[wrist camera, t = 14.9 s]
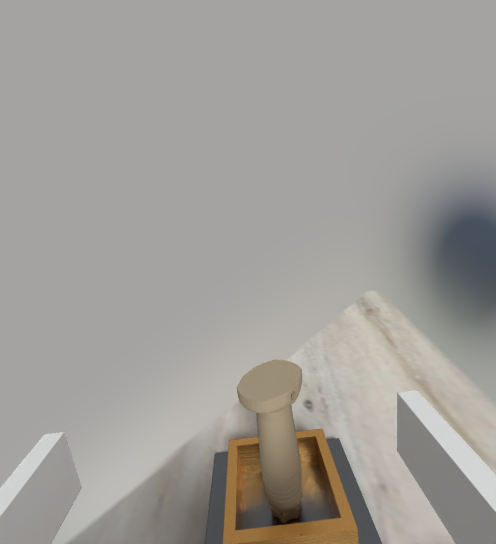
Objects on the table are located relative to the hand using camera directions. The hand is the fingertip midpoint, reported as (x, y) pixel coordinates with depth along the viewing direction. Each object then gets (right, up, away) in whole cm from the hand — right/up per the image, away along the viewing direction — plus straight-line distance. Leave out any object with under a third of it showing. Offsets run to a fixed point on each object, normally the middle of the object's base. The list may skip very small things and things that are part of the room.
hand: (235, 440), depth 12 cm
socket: (+4, -18, +19) cm, 27 cm away
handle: (+4, -18, +18) cm, 26 cm away
